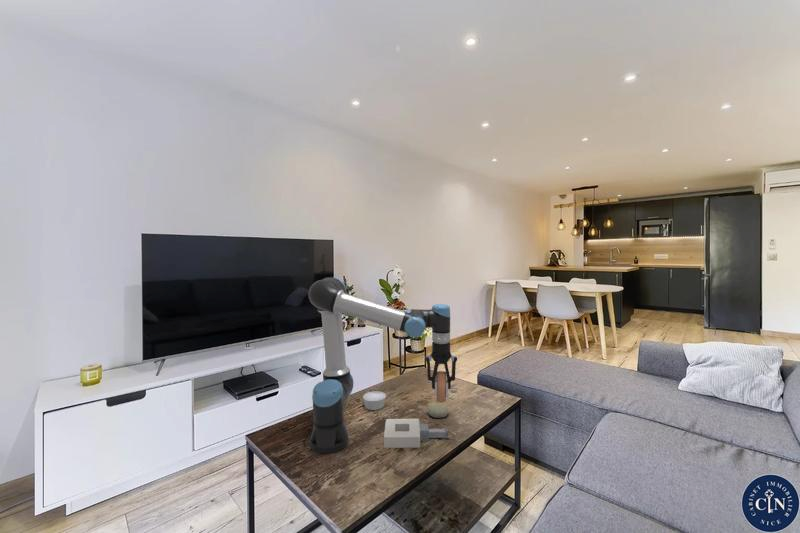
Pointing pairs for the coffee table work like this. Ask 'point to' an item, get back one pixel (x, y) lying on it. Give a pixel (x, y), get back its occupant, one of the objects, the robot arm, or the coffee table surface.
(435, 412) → the sea urchin shell
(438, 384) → the peg
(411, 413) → the coffee table surface
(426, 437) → the pin guide
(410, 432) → the dock
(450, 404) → the coffee table surface
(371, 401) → the ramekin
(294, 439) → the coffee table surface
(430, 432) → the lock pin
